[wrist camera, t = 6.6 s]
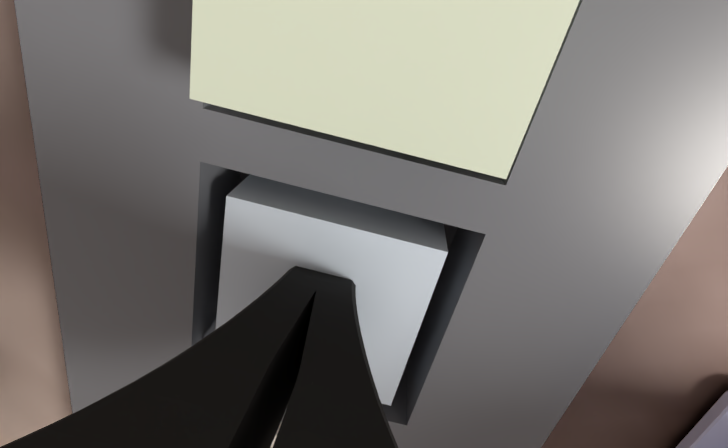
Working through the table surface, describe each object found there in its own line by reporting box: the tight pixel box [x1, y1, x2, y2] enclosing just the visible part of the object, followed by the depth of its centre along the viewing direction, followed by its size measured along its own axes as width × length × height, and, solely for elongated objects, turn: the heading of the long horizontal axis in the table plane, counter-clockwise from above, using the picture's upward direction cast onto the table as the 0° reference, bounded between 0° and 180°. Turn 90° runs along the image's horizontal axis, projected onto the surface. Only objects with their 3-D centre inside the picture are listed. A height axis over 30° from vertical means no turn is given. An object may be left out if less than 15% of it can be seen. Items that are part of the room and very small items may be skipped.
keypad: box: [14, 0, 728, 448], centre depth 9 cm, size 12×29×3 cm, turn 167°
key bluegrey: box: [215, 174, 448, 406], centre depth 10 cm, size 4×4×2 cm
